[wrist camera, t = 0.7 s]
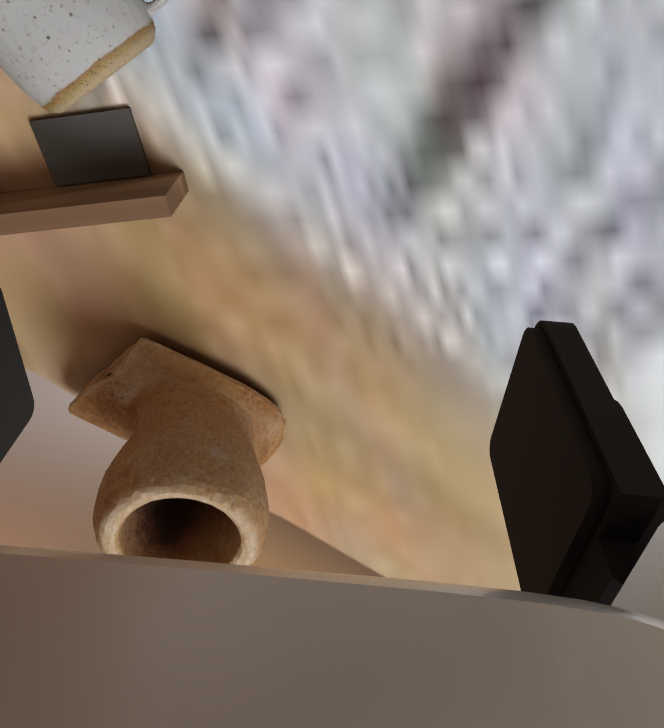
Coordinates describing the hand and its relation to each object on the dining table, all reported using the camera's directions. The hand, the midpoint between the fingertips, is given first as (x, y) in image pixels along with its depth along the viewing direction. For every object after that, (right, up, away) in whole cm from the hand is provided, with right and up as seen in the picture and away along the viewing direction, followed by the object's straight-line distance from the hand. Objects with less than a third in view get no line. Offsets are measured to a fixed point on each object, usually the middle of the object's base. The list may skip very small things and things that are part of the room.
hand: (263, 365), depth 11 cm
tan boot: (-9, -2, +35) cm, 37 cm away
